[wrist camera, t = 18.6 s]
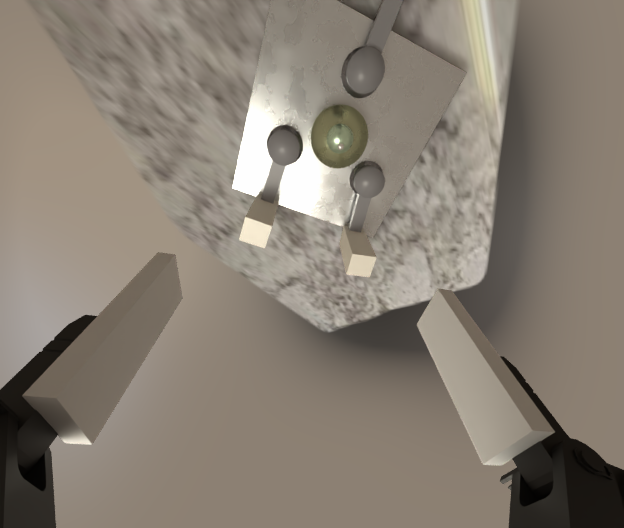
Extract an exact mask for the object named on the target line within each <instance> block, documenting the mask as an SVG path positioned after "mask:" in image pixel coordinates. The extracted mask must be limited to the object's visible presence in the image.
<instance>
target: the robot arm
mask: <svg viewBox="0 0 624 528" xmlns="http://www.w3.org/2000/svg"><path fill="white" fill-rule="evenodd" d="M181 300H182V293H181V287H180V280H179V274H178V268H177V262H176V255H175V254H167V253H159V252H158V253H157V254H156V255H155V256H154V257H153V258H152V259H151V260H150V261H149V262H148V263H147V265H146V266H145V267H144V268H143V269H142V270H141V271H140V272H139V273H138V274H137V275H136V276H135V277H134V278H133V279H132V280H131V282H129V284H128V285H127V286H126V287H125V288H124V289H123V290H122V291H121V292H120V293H119V294H118V295H117V296H116V297H115V298H114V299H113V300H112V301H111V303H109V305H108V306H107V307H106V308H105V309H104V310H103V311H102V312H101V313H100V314H99V315H98V316H92V315H84V316H82V317H81V318H79V319H77V320H76V321H74V322H72V323H70V324H69V325H67V326H66V327H65V328H64V329H63V330H62V331H61V332H60V333H59V334H58V335H57V336H56V337H55V338H54V340H53V341H51V342H50V343H49V344H48V345H46V347H44V348H43V351H42V352H39V353H38V354H37V355H36V356H35V357H34V358H33V359H32V360H31V361H30V362H29V363H28V364H27V365H26V366H25V367H23V369H21V371H19V372H18V373H17V374H16V375H15V376H14V377H13V378H12V379H11V380H10V381H9V382H8V383H7V384H6V385H5V386H4V387H3V388H2V389H1V390H0V528H56V523H55V505H54V489H53V474H52V473H53V472H52V457H51V451H50V448H49V446H50V445H51V443H52V442H53V441H54V439H55V438H56V437H57V435H58V436H59V437H60V438H61V439H62V440H63V441H64V442H65V443H71V444H91V445H92V444H93V443H94V441H95V439H96V438H97V436H98V435H99V433H100V431H101V430H102V428H103V426H104V425H105V423H106V422H107V420H108V418H109V417H110V415H111V413H112V412H113V410H114V408H115V407H116V405H117V404H118V402H119V400H120V399H121V397H122V396H123V394H124V392H125V391H126V389H127V387H128V386H129V384H130V383H131V381H132V379H133V378H134V376H135V374H136V373H137V371H138V370H139V368H140V366H141V365H142V363H143V362H144V360H145V358H146V357H147V355H148V353H149V352H150V350H151V348H152V347H153V345H154V344H155V342H156V340H157V339H158V337H159V335H160V334H161V332H162V331H163V329H164V327H165V326H166V324H167V323H168V321H169V319H170V318H171V316H172V314H173V313H174V311H175V310H176V308H177V306H178V305H179V303H180V301H181ZM417 326H418V328H419V331H420V333H421V335H422V337H423V339H424V341H425V343H426V345H427V348H428V350H429V352H430V354H431V356H432V358H433V360H434V362H435V364H436V366H437V369H438V371H439V373H440V375H441V377H442V379H443V381H444V383H445V386H446V388H447V390H448V392H449V394H450V396H451V398H452V400H453V402H454V405H455V407H456V409H457V411H458V413H459V415H460V417H461V420H462V422H463V424H464V426H465V428H466V430H467V432H468V434H469V437H470V439H471V441H472V443H473V445H474V447H475V449H476V451H477V453H478V455H479V458H480V460H481V462H482V464H484V465H503V464H505V463H507V462H508V461H510V460H511V459H513V460H514V462H515V464H516V466H517V468H515V469H514V470H512V471H510V472H509V473H507V474H505V475H503V476H502V477H501V479H500V482H501V483H502V484H504V483H506V482H508V481H509V480H511V479H512V484H511V485H510V486H509V487H508V488H509V489H510V490H511V502H510V517H509V528H624V470H622V469H620V468H617V467H615V466H613V465H610V464H608V463H606V462H605V461H604V460H603V459H602V458H601V457H600V456H599V455H598V454H597V453H596V452H595V451H594V450H593V449H591V448H590V447H589V446H587V445H586V444H584V443H582V442H580V441H578V440H576V439H571V438H569V436H568V435H567V434H566V433H565V432H564V431H563V429H562V428H561V426H560V425H559V424H558V422H557V421H556V420H555V418H554V417H553V416H552V414H551V413H550V412H549V411H548V409H547V408H546V407H545V406H544V404H543V403H542V401H541V400H540V399H539V398H538V396H537V395H536V394H535V393H533V389H532V388H531V387H530V386H529V384H528V383H526V382H525V379H524V378H523V376H522V375H521V374H520V373H519V371H518V370H517V368H516V367H514V366H513V365H512V364H511V363H510V362H509V361H508V360H507V359H506V358H504V357H501V356H499V355H498V353H497V352H496V351H495V349H494V348H493V347H492V345H491V344H490V342H489V341H488V340H487V338H486V337H485V336H484V334H483V333H482V331H481V330H480V329H479V328H478V326H477V325H476V323H475V322H474V321H473V319H472V318H471V316H470V315H469V314H468V312H467V311H466V310H465V308H464V307H463V306H462V304H461V303H460V302H459V300H458V299H457V297H456V296H455V295H454V293H453V292H452V291H451V290H444V289H437V291H436V293H435V294H434V296H433V298H432V299H431V301H430V303H429V305H428V306H427V308H426V310H425V311H424V313H423V315H422V316H421V318H420V320H419V322H418V323H417Z"/></svg>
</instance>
